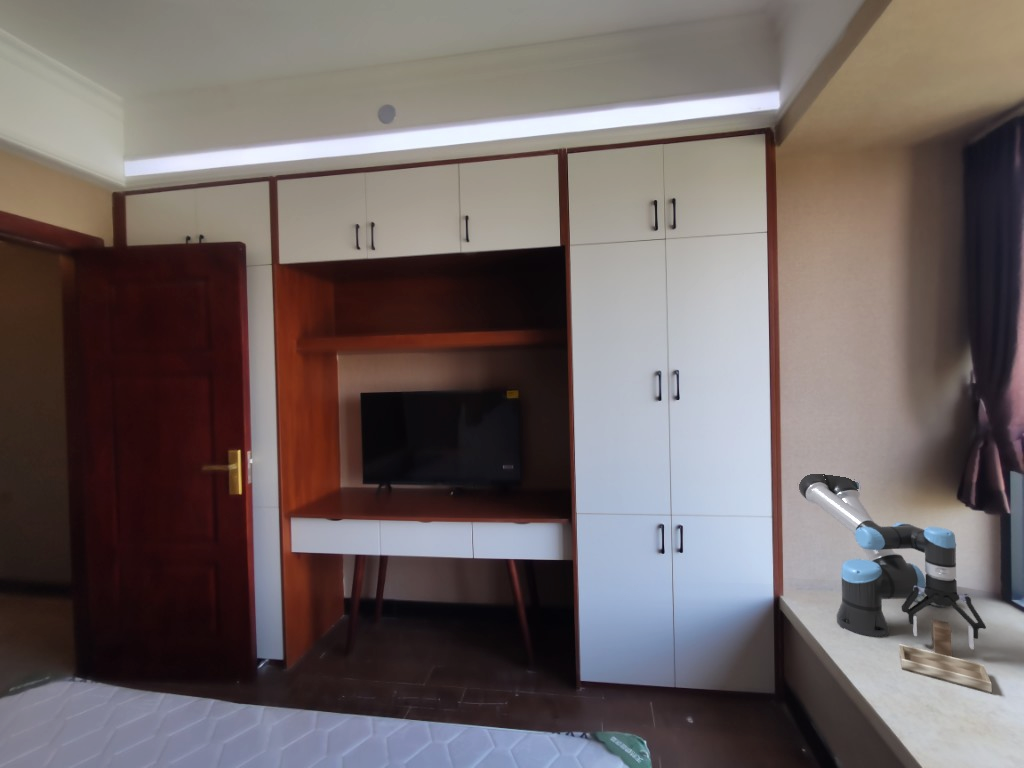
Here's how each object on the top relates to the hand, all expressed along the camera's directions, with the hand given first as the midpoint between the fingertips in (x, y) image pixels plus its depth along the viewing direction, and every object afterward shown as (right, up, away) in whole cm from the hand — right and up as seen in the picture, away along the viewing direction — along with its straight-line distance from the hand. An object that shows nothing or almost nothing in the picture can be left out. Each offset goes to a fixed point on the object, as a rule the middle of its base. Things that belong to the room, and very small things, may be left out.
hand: (942, 640), depth 151 cm
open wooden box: (-9, -4, -10) cm, 14 cm away
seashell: (+31, -1, +28) cm, 42 cm away
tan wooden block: (0, -4, 0) cm, 4 cm away
